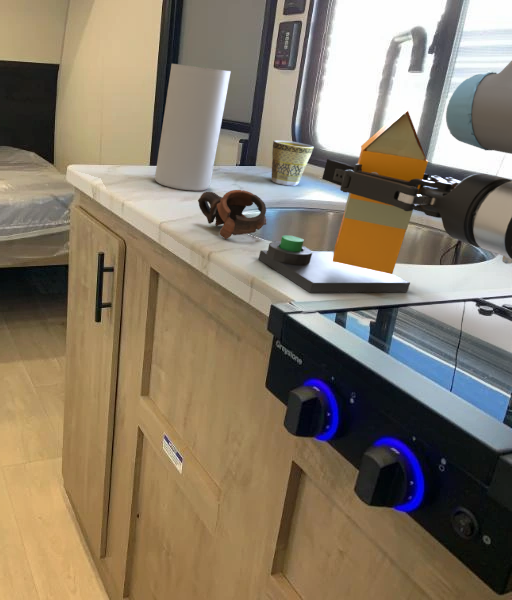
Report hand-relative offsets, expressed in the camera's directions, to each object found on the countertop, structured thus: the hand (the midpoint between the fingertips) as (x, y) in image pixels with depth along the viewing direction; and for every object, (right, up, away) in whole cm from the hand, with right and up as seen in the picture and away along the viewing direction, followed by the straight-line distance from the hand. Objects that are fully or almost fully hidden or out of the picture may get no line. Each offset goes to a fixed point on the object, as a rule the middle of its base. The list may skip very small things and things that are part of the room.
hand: (358, 171), depth 83 cm
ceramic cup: (+12, +13, +74) cm, 76 cm away
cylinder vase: (-18, +8, +53) cm, 57 cm away
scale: (-3, -14, +3) cm, 15 cm away
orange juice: (0, -12, 0) cm, 12 cm away
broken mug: (-15, -7, +18) cm, 24 cm away
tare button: (-9, -11, +3) cm, 14 cm away
